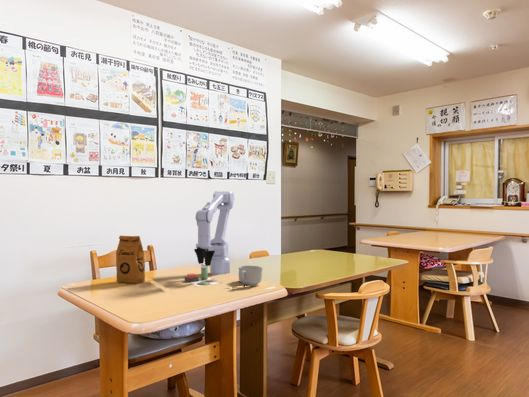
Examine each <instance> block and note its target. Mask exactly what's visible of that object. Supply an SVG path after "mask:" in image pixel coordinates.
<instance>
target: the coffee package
mask: <svg viewBox="0 0 529 397" xmlns="http://www.w3.org/2000/svg"><path fill="white" fill-rule="evenodd" d="M118 239H119V240H118V244H117V249H116V251H115V266H116V267H115V268H116V282H117V283H123V284H129V285H131V284H135V285H138V284H141V283H144V282H146V279H145V278H146V263H145V262H146V261H145V252H144V249H143V248H144V247H143V245H142V241H141V237H140V235H133V236H132V235H119V237H118Z"/></svg>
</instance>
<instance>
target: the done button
mask: <svg viewBox="0 0 529 397" xmlns="http://www.w3.org/2000/svg"><path fill="white" fill-rule="evenodd" d="M186 277H187V278H188V279H192V278H196V277H197V275H196V273H194V272H193V273H187V275H186Z"/></svg>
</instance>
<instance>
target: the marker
mask: <svg viewBox="0 0 529 397" xmlns="http://www.w3.org/2000/svg"><path fill="white" fill-rule="evenodd" d="M208 271H209V266H206V265H205V263H202V264H200V272H201V273H200V274H201V275H200V276H201V278H200V279H201V280H207V279H208V277H209V274H208V273H209V272H208Z"/></svg>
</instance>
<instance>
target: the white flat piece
mask: <svg viewBox="0 0 529 397" xmlns="http://www.w3.org/2000/svg"><path fill="white" fill-rule="evenodd" d="M184 282H186V283H188V284H192V285H193V286H195V287H202V286H203V287H204V286H212V285H218V284H223V282H222V281H219V280H217V279H215V278H212V277H210V276H208V279H207V280H201V278H199V277H197V276H196V278H192V279H188V278H187V276H185V277H184Z"/></svg>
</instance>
